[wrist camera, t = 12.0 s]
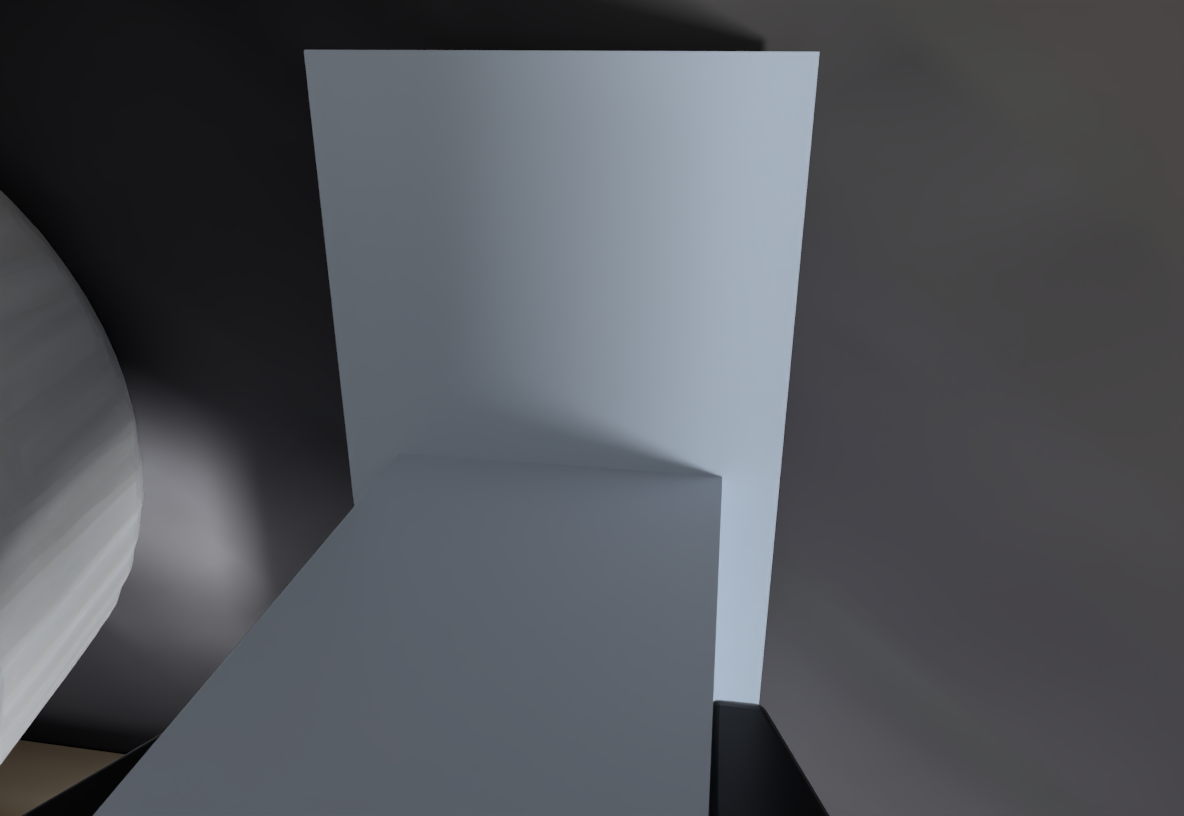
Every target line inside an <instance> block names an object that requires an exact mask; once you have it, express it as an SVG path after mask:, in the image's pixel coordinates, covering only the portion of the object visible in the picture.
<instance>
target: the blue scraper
mask: <svg viewBox="0 0 1184 816" xmlns="http://www.w3.org/2000/svg"><path fill="white" fill-rule="evenodd" d="M304 58H305V67H306V76H307V85H308V94H309V103H310V112H311V121H312V130H313V139H314V148H315V157H316V166H317V175H318V184H319V193H320V202H321V211H322V220H323V229H324V239H325V248H326V257H327V266H328V275H329V284H330V293H331V302H332V311H333V320H334V329H335V338H336V347H337V356H338V365H339V374H340V383H341V392H342V401H343V410H344V419H345V428H346V437H347V446H348V455H349V464H350V473H351V482H352V491H353V500H354V507H353V508H352V510H351V511H350V512H349V513H348V514H347V516H346V517H345V518H344V519H343V520H342V521H341V523H340V524H339V525H338V526H337V527H336V529H335V530H334V531H333V532H332V533H331V534H330V536H329V537H328V538H327V539H326V540H325V542H324V543H323V544H322V545H321V546H320V547H319V549H318V550H317V551H316V552H315V553H314V555H313V556H312V557H311V558H310V559H309V560H308V562H307V563H306V564H305V565H304V566H303V568H302V569H301V570H300V571H299V572H298V573H297V575H296V576H295V577H294V578H293V579H292V581H291V582H290V583H289V584H288V585H287V586H286V588H285V589H284V590H283V591H282V592H281V594H280V595H279V596H278V597H277V598H276V600H275V601H274V602H273V603H272V604H271V605H270V607H269V608H268V609H267V610H266V611H265V613H264V614H263V615H262V616H261V617H260V618H259V620H258V621H257V622H256V623H255V624H254V626H253V627H252V628H251V629H250V630H249V631H248V633H247V634H246V635H245V636H244V637H243V639H242V640H241V641H240V642H239V643H238V644H237V646H236V647H235V648H234V649H233V650H232V652H231V653H230V654H229V655H228V656H227V657H226V659H225V660H224V661H223V662H222V663H221V665H220V666H219V667H218V668H217V669H216V670H215V672H214V673H213V674H212V675H211V676H210V678H209V679H208V680H207V681H206V682H205V683H204V685H203V686H202V687H201V688H200V689H199V691H198V692H197V693H196V694H195V695H194V696H193V698H192V699H191V700H190V701H189V702H188V704H187V705H186V706H185V707H184V708H183V709H182V711H181V712H180V713H179V714H178V715H177V717H176V718H175V719H174V720H173V721H172V722H171V724H170V725H169V726H168V727H167V728H166V730H165V731H164V732H163V733H162V734H161V736H160V737H159V738H158V739H157V740H156V741H155V743H154V744H153V745H152V746H151V747H150V749H149V750H148V751H147V752H146V753H145V754H144V756H143V757H142V758H141V759H140V760H139V762H138V763H137V764H136V765H135V766H134V767H133V769H132V770H131V771H130V772H129V773H128V775H127V776H126V777H125V778H124V779H123V780H122V782H121V783H120V784H119V785H118V786H117V788H116V789H115V790H114V791H113V792H112V793H111V795H110V796H109V797H108V798H107V799H106V801H105V802H104V803H103V804H102V805H101V806H100V808H99V809H98V810H97V811H96V812H95V814H94V815H93V816H708V815H709V790H710V766H711V741H712V717H713V701H715V700H726V701H735V702H745V703H754V704H758V705H759V698H760V687H761V676H762V666H763V655H764V644H765V633H766V623H767V612H768V601H769V590H770V580H771V569H772V558H773V547H774V537H775V526H776V515H777V504H778V493H779V483H780V472H781V461H782V450H783V440H784V429H785V418H786V407H787V397H788V386H789V375H790V364H791V354H792V343H793V332H794V321H795V311H796V300H797V289H798V278H799V268H800V257H801V246H802V235H803V225H804V214H805V203H806V192H807V182H808V171H809V160H810V149H811V139H812V128H813V117H814V106H815V96H816V85H817V74H818V63H819V52H808V51H571V50H304Z"/></svg>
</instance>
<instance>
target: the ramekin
mask: <svg viewBox="0 0 1184 816" xmlns="http://www.w3.org/2000/svg"><path fill="white" fill-rule="evenodd" d="M143 496H144V491H143V476H142V456H141V452H140V448H139V443H138V437H137V429H136V419H135V416H134V413H133V408H132V404H131V401H130V397H129V393H128V390H127V386H126V382H125V379H124V376H123V373H122V371H121V368H120V365H119V362H118V360H117V357H116V355H115V352H114V350H113V348H112V346H111V344H110V341H109V339H108V337H107V335H106V332H105V330H104V328H103V326H102V324H101V323H100V321H99V319H98V317H97V315H96V313H95V312H94V310H93V308H92V306H91V304H90V302H89V301H88V299H87V297H86V295H85V294H84V292H83V291H82V289H81V288H80V286H79V285H78V283H77V282H76V280H75V279H74V277H73V276H72V274H71V273H70V271H69V270H68V268H67V267H66V266H65V264H64V263H63V261H62V260H61V259H60V257H59V256H58V255H57V253H56V252H55V251H54V249H53V248H52V247H51V245H50V244H49V243H48V241H47V240H46V239H45V237H44V236H43V235H42V234H41V232H40V231H39V230H38V229H37V228H36V227H35V226H34V225H33V224H32V223H31V221H30V220H29V219H28V218H27V217H26V216H25V215H24V214H23V213H22V212H21V211H20V209H19V208H18V207H17V206H16V205H15V204H14V203H13V202H12V201H11V200H10V199H9V198H8V197H7V196H6V195H5V194H4V193H3V192H2V191H1V190H0V765H1V764H2V762H3V761H4V760H5V758H6V757H7V755H8V754H9V753H10V751H11V750H12V749H13V747H14V746H15V745H16V743H17V742H18V741H19V739H20V738H21V737H22V735H23V734H24V733H25V731H26V730H27V729H28V727H29V726H30V725H31V723H32V722H33V721H34V719H35V718H36V717H37V715H38V714H39V712H40V711H41V710H42V708H43V707H44V706H45V704H46V703H47V702H48V700H49V699H50V698H51V696H52V695H53V694H54V692H55V691H56V690H57V688H58V687H59V686H60V684H61V683H62V682H63V680H64V679H65V678H66V676H67V675H68V674H69V672H70V671H71V669H72V668H73V667H74V665H75V664H76V662H77V661H78V660H79V658H80V657H81V656H82V654H83V653H84V651H85V650H86V649H87V647H88V646H89V644H90V643H91V642H92V640H93V639H94V637H95V636H96V635H97V633H98V631H99V629H100V628H101V626H102V625H103V624H104V622H105V621H106V620H107V618H108V617H109V615H110V614H111V612H112V610H113V609H114V607H115V605H116V604H117V602H118V598H119V595H120V591H121V588H122V586H123V584H124V582H125V581H126V579H127V577H128V575H129V573H130V571H131V568H132V564H133V559H134V549H135V546H136V543H137V540H138V537H139V530H140V520H141V508H142V505H143Z"/></svg>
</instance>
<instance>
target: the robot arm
mask: <svg viewBox="0 0 1184 816" xmlns="http://www.w3.org/2000/svg"><path fill="white" fill-rule="evenodd" d="M161 734H162V733H161ZM161 734H160V735H158V736H156V737H155V738H153V739H151V740H149V741H148V742H146V743H144V744H143V745H141V746H139V747H137V748H136V749H134V750H132V751H131V752H129V753H127V754H126V755H124V756H122V757H120V758H119V759H117V760H115V761H114V762H112V763H110V764H108V765H107V766H105V767H103V768H102V769H100V770H98V771H96V772H95V773H93V774H91V775H90V776H88V777H86V778H85V779H83V780H81V781H79V782H78V783H76V784H74V785H73V786H71V787H69V788H67V789H66V790H64V791H62V792H61V793H59V794H57V795H55V796H54V797H52V798H50V799H49V800H47V801H45V802H44V803H42V804H40V805H38V806H37V807H35V808H33V809H32V810H30V811H28V812H26V813H25V814H23V815H21V816H93V815H94V814H95V812H96V811H97V810H98V809H99V808H100V806H101V805H102V804H103V803H104V802H105V801H106V799H107V798H108V797H109V796H110V795H111V793H112V792H113V791H114V790H115V789H116V788H117V786H118V785H119V784H120V783H121V782H122V780H123V779H124V778H125V777H126V776H127V775H128V773H129V772H130V771H131V770H132V769H133V767H134V766H135V765H136V764H137V763H138V762H139V760H140V759H141V758H142V757H143V756H144V754H145V753H146V752H147V751H148V750H149V749H150V747H151V746H152V745H153V744H154V743H155V741H156V740H157V739H158V738H159V737H160V736H161ZM708 816H829V814H828V813H827V811H826V809H825V808H824V806H823V804H822V803H821V801H820V799H819V798H818V796H817V794H816V793H815V791H814V789H813V788H812V786H811V784H810V783H809V781H808V779H807V778H806V776H805V774H804V773H803V771H802V769H801V768H800V766H799V764H798V763H797V761H796V759H795V758H794V756H793V754H792V753H791V751H790V749H789V748H788V746H787V744H786V743H785V741H784V739H783V738H782V736H781V734H780V733H779V731H778V729H777V728H776V726H775V724H774V723H773V721H772V719H771V718H770V716H769V714H768V713H767V712H766V710H765V709H764V708H763V707H762V706H760V705H758V704H754V703H745V702H735V701H726V700H715V701H713V717H712V741H711V766H710V790H709V815H708Z"/></svg>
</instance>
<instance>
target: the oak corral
mask: <svg viewBox="0 0 1184 816" xmlns="http://www.w3.org/2000/svg"><path fill="white" fill-rule="evenodd" d="M124 755H125V754H118V753H110V752H103V751H96V750H88V749H81V748H74V747H66V746H59V745H52V744H44V743H37V742H30V741H22V740H19V741H18V742H17V743H16V745H15V746H14V747H13V749H12V750H11V751H10V753H9V754H8V755H7V757H6V758H5V760H4V761H3V762H2V764H1V765H0V816H21V815H23V814H25V813H26V812H28V811H30V810H32V809H33V808H35V807H37V806H38V805H40V804H42V803H44V802H45V801H47V800H49V799H50V798H52V797H54V796H55V795H57V794H59V793H61V792H62V791H64V790H66V789H67V788H69V787H71V786H73V785H74V784H76V783H78V782H79V781H81V780H83V779H85V778H86V777H88V776H90V775H91V774H93V773H95V772H96V771H98V770H100V769H102V768H103V767H105V766H107V765H108V764H110V763H112V762H114V761H115V760H117V759H119V758H120V757H122V756H124Z"/></svg>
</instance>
